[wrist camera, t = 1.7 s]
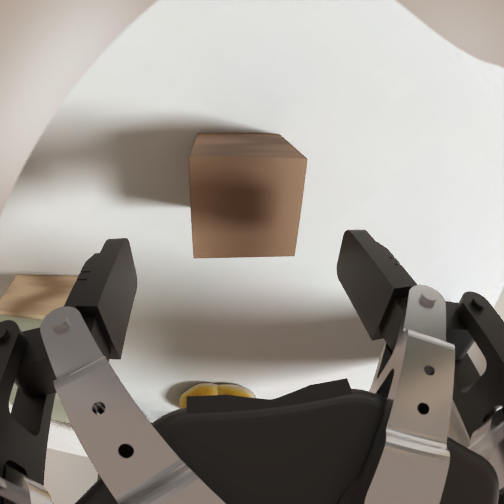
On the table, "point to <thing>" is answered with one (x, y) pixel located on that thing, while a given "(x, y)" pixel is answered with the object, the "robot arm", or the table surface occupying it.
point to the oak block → (36, 295)
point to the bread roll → (214, 391)
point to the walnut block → (245, 195)
